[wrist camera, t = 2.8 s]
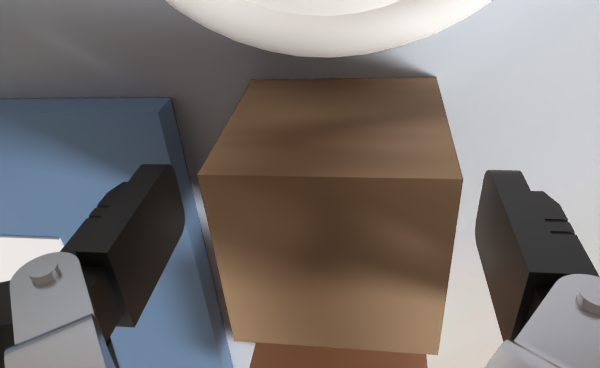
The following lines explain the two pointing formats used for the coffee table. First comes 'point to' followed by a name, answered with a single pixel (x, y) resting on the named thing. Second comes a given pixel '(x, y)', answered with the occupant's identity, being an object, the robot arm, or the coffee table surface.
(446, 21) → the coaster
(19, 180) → the board
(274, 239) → the walnut block
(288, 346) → the terracotta block
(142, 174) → the robot arm
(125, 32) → the coffee table surface
